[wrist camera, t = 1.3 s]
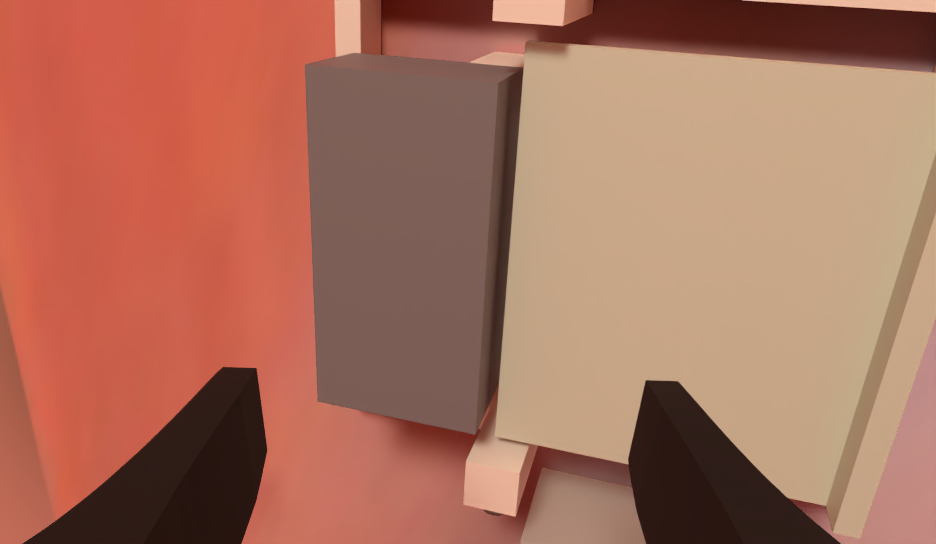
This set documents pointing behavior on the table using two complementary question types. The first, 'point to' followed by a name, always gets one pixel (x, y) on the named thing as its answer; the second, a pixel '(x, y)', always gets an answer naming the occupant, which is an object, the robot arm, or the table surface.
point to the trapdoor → (629, 250)
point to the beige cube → (581, 512)
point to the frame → (548, 3)
